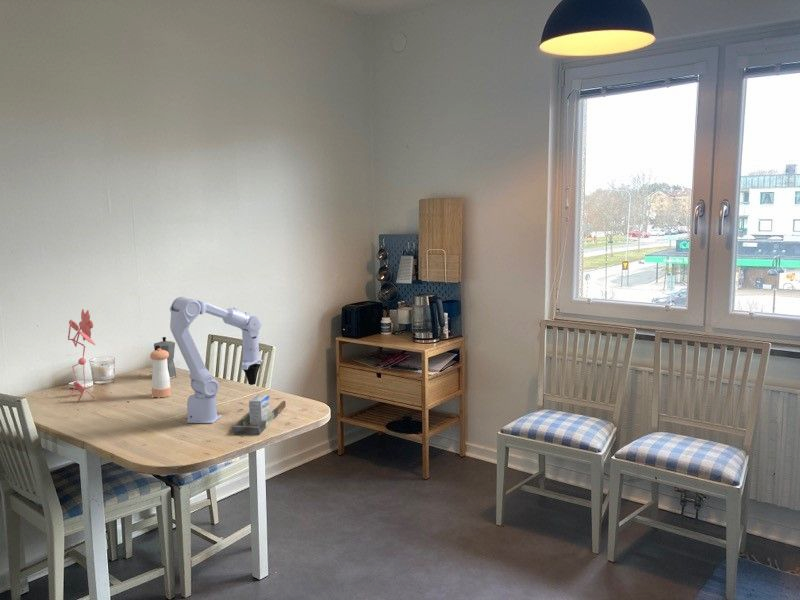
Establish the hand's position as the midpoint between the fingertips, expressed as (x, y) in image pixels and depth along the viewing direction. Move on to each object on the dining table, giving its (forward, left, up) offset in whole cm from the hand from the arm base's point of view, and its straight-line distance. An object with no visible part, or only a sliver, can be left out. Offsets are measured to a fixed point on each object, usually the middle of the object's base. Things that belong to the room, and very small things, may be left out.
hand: (252, 384), depth 238 cm
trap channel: (+7, -12, -9) cm, 16 cm away
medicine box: (+8, -14, -10) cm, 19 cm away
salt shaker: (-42, +13, -10) cm, 45 cm away
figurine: (-69, +9, -10) cm, 70 cm away
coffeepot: (-54, +40, -10) cm, 68 cm away
